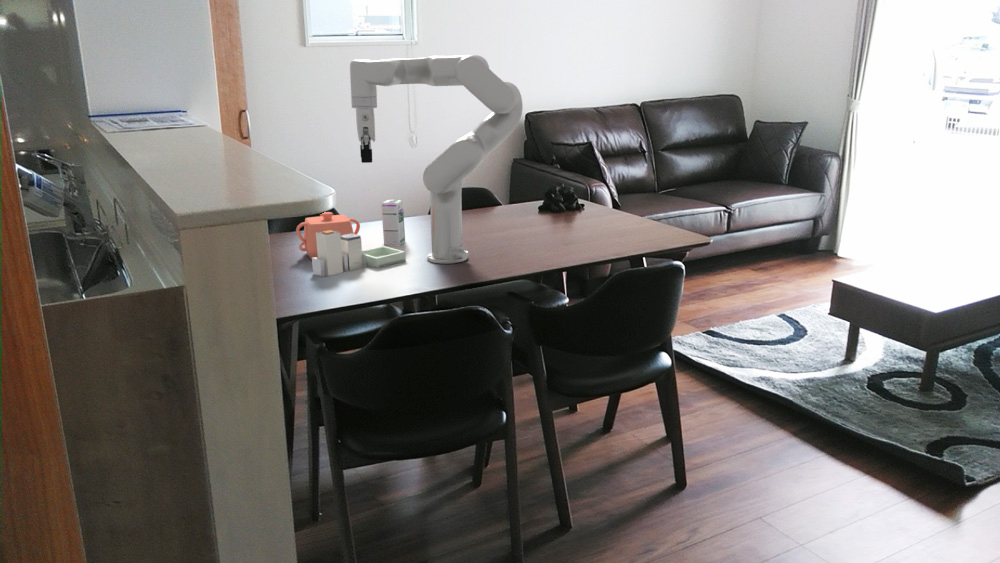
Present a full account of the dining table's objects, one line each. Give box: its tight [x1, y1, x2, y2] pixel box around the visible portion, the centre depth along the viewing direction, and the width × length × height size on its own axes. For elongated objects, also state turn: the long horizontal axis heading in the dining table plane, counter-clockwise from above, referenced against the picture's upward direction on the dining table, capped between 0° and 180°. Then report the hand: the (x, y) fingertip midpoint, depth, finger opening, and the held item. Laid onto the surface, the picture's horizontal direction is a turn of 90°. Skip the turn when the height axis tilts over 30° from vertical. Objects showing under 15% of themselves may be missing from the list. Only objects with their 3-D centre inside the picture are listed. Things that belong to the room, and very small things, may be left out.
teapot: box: [295, 211, 361, 260], centre depth 255 cm, size 20×19×14 cm
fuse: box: [316, 230, 344, 277], centre depth 233 cm, size 5×5×12 cm
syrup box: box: [380, 199, 406, 246], centre depth 265 cm, size 6×6×14 cm
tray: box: [364, 245, 407, 269], centre depth 245 cm, size 11×11×3 cm
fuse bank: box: [311, 232, 367, 278], centre depth 235 cm, size 5×16×10 cm, turn 135°
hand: (366, 160), depth 242 cm, fingers open, 9 cm apart
